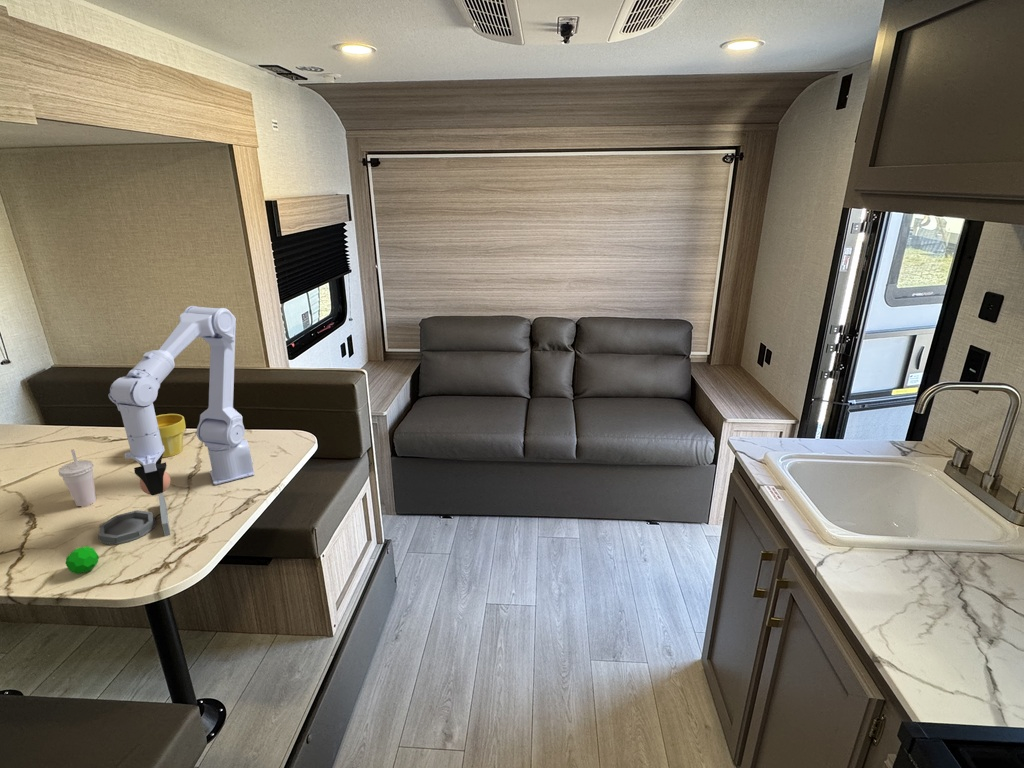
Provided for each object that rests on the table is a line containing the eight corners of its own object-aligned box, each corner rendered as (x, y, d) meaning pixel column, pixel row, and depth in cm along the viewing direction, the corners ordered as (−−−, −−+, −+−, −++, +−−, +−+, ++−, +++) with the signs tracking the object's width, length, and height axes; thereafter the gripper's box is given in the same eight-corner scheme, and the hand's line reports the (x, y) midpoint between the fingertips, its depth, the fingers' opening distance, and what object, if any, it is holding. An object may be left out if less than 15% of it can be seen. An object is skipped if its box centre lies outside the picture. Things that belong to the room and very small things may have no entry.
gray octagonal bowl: (154, 510, 123) (153, 505, 122) (157, 533, 115) (155, 527, 114) (99, 525, 117) (97, 519, 117) (97, 550, 109) (95, 544, 109)
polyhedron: (93, 577, 102) (86, 556, 100) (63, 580, 101) (57, 559, 99) (106, 560, 107) (100, 540, 105) (78, 563, 106) (71, 543, 104)
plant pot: (184, 440, 157) (177, 410, 153) (195, 452, 150) (188, 420, 147) (143, 451, 150) (135, 420, 146) (153, 464, 143) (145, 431, 140)
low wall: (166, 504, 125) (163, 493, 124) (170, 534, 115) (167, 522, 114) (161, 505, 125) (158, 494, 124) (164, 536, 114) (162, 524, 113)
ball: (171, 483, 121) (166, 462, 119) (173, 494, 117) (168, 472, 115) (142, 490, 118) (136, 468, 116) (143, 502, 114) (137, 479, 112)
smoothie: (84, 511, 122) (68, 457, 117) (62, 508, 123) (44, 454, 118) (109, 497, 128) (95, 445, 123) (87, 493, 129) (72, 442, 124)
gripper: (119, 423, 115) (133, 478, 120) (120, 449, 104) (135, 508, 109) (157, 416, 119) (169, 469, 124) (162, 440, 108) (175, 498, 113)
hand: (156, 487), depth 117 cm, fingers closed on ball, 5 cm apart
